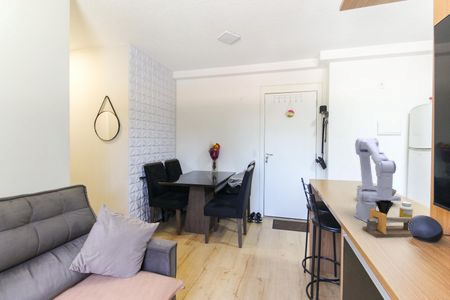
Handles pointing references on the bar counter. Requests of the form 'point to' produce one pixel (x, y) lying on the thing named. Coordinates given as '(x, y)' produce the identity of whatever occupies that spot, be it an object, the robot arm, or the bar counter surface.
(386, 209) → the robot arm
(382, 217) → the collar
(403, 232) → the pipe stand
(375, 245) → the bar counter surface
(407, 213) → the supplement bottle
